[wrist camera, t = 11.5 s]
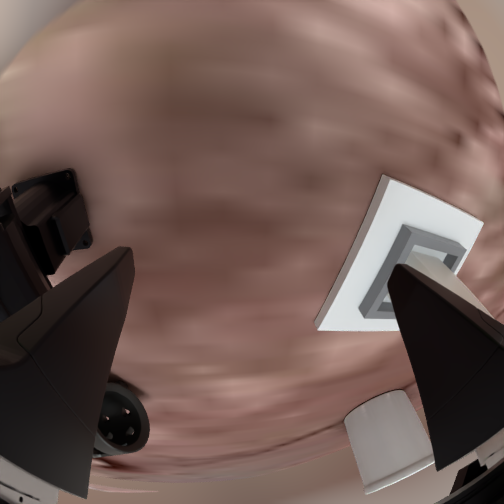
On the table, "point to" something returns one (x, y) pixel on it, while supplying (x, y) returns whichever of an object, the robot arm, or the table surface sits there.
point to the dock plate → (393, 253)
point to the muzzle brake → (120, 423)
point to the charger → (442, 276)
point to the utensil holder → (388, 440)
